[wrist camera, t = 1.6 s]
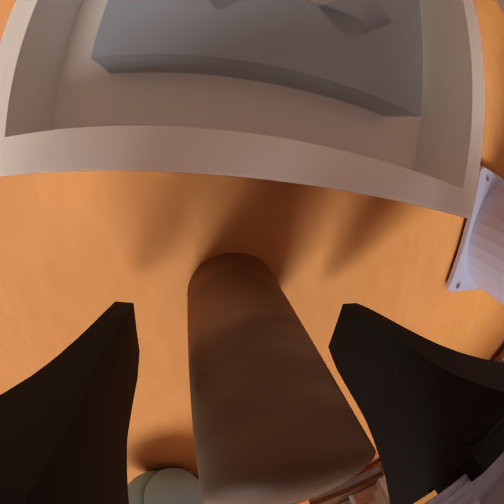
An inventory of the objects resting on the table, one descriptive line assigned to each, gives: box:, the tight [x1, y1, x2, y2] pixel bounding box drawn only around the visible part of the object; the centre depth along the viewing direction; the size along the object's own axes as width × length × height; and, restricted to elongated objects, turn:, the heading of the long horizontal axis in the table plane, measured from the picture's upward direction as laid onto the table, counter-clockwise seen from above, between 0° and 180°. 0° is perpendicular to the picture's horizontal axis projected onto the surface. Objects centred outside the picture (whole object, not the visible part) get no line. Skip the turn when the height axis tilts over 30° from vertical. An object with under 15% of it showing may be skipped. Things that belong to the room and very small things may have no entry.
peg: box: [188, 253, 376, 504], centre depth 7 cm, size 4×4×8 cm
